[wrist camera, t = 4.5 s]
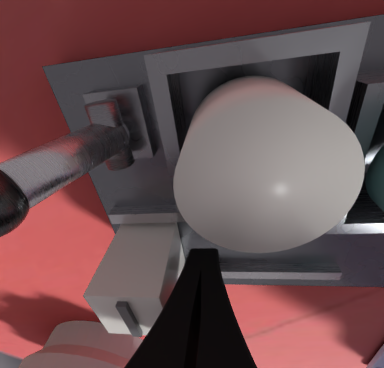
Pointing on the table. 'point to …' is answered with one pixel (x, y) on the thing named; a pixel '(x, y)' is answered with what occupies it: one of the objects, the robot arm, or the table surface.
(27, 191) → the toggle lever
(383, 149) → the teal button
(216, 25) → the table surface
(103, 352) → the flag stand
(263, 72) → the panel
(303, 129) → the white button
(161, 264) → the fader knob
